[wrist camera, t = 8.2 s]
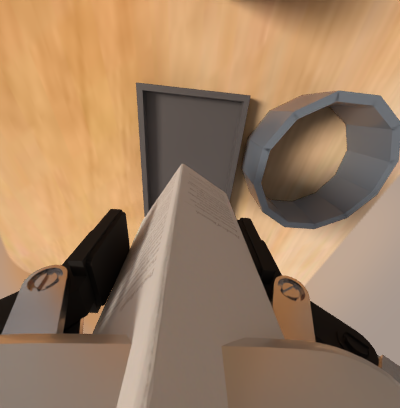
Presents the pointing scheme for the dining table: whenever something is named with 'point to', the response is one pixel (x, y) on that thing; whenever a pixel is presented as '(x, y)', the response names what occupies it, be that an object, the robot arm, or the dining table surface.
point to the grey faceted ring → (349, 168)
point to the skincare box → (185, 298)
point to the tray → (188, 135)
